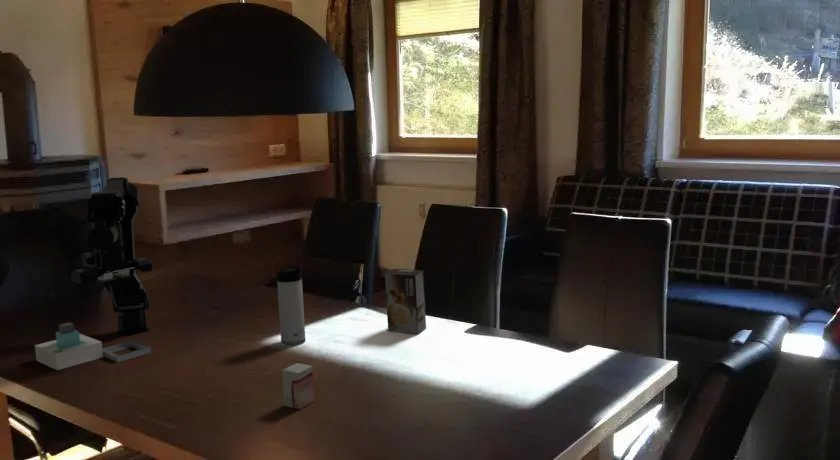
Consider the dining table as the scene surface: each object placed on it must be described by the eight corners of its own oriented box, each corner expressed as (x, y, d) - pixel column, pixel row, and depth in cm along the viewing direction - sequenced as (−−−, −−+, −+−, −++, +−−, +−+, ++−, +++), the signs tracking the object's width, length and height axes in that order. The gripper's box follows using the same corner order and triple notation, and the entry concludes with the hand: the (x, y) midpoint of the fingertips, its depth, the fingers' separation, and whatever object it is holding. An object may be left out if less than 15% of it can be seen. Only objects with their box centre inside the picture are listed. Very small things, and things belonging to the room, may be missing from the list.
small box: (300, 410, 157) (297, 373, 156) (283, 406, 159) (281, 369, 158) (315, 401, 161) (313, 365, 160) (299, 397, 163) (296, 362, 162)
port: (81, 348, 201) (80, 332, 201) (103, 357, 194) (101, 340, 193) (36, 360, 193) (34, 344, 192) (57, 370, 185) (55, 353, 185)
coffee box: (427, 327, 210) (425, 270, 207) (418, 334, 204) (416, 275, 201) (396, 325, 213) (394, 268, 210) (386, 331, 207) (384, 273, 204)
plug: (74, 355, 196) (70, 321, 195) (81, 358, 193) (78, 323, 192) (58, 359, 193) (54, 325, 192) (66, 362, 191) (61, 327, 189)
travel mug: (301, 346, 197) (297, 269, 194) (277, 345, 199) (272, 269, 195) (310, 338, 203) (305, 264, 200) (286, 338, 205) (281, 264, 201)
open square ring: (133, 345, 202) (132, 340, 202) (151, 352, 196) (150, 346, 196) (99, 355, 195) (99, 349, 195) (117, 362, 190) (117, 356, 189)
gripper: (128, 234, 203) (134, 291, 206) (57, 245, 190) (64, 307, 192) (151, 238, 196) (156, 297, 199) (78, 250, 182) (85, 314, 185)
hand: (116, 304), depth 194 cm, fingers closed
